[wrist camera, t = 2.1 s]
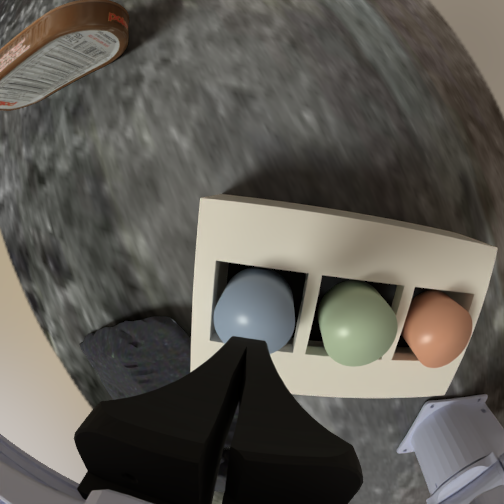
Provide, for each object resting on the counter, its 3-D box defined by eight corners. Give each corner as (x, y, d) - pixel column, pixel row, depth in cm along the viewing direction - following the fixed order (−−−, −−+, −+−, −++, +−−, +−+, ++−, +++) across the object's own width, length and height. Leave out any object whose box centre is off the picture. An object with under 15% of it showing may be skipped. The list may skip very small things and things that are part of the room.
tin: (145, 26, 17) (94, -23, 9) (147, 55, 18) (90, 8, 10) (22, 93, 19) (-38, 82, 11) (21, 120, 20) (-42, 113, 12)
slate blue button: (298, 272, 16) (301, 289, 14) (287, 335, 17) (287, 361, 15) (227, 262, 17) (216, 277, 14) (221, 325, 17) (211, 349, 15)
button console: (456, 232, 19) (497, 247, 13) (419, 357, 21) (444, 395, 16) (221, 193, 20) (200, 197, 15) (209, 337, 22) (190, 377, 17)
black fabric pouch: (202, 288, 22) (183, 315, 18) (293, 460, 26) (293, 493, 21) (73, 332, 25) (45, 355, 20) (176, 472, 29) (166, 499, 24)
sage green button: (389, 284, 16) (406, 301, 13) (372, 343, 17) (384, 367, 14) (324, 275, 16) (332, 293, 13) (311, 338, 17) (315, 363, 14)
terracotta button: (458, 292, 16) (480, 308, 13) (440, 346, 17) (457, 367, 14) (410, 286, 16) (430, 304, 13) (392, 344, 17) (406, 368, 14)
